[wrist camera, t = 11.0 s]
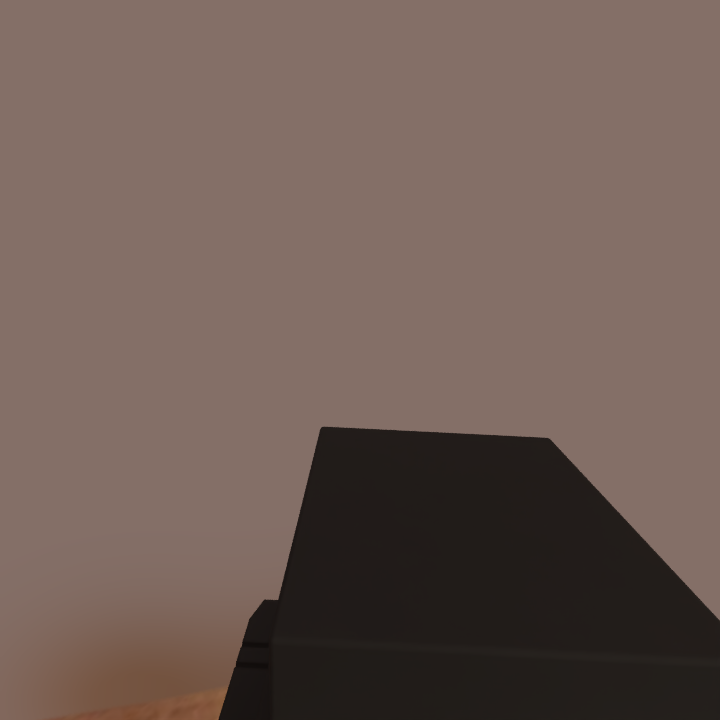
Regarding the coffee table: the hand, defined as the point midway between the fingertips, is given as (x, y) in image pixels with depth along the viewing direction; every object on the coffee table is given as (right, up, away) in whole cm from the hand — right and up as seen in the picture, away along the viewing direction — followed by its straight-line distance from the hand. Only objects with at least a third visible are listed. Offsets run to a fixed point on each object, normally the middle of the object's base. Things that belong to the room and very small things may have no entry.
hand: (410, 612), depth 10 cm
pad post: (0, -7, -1) cm, 7 cm away
